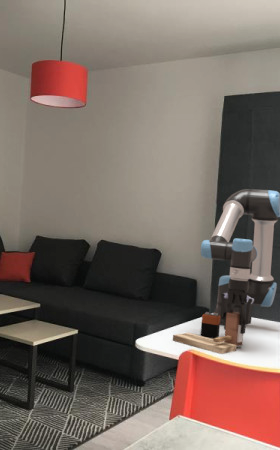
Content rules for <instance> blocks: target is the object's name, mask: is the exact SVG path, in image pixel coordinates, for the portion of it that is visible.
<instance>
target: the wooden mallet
mask: <svg viewBox="0 0 280 450" xmlns="http://www.w3.org/2000/svg"><path fill="white" fill-rule="evenodd" d="M238 325H240V315H239V313H238V312H230V313H227V316H226V327H225V330H224V335H223V336H219V337H218V338H214V339H213V338H212V339H213V342H222V341H223V342H226V343H230V344H234V345H237V347H241V346H243V342H244V338H243V339H242V342H239V343H238V342H237V336H238Z"/></svg>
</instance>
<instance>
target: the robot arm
mask: <svg viewBox="0 0 280 450" xmlns="http://www.w3.org/2000/svg"><path fill="white" fill-rule="evenodd" d="M222 211H223V212H222V214H221V215H220V218H219V220H218V222H217V224H216V226H215V228H214V230H213V233H212V235H211V238H210V239H205V240H202V241H201V245H200V255H201V257H202V258H203V259H208V260H209V259H210V260H218V261H228V262H230V267H229V275H222V276H220V277H219V281H218V288H217V289H218V290H217V300H216V301H217V302H216V307H215V309H214V312H213V313H218V315H220V326H224V327H223V329H224V331H225V327H226V316H227V313H230V312H238V313H239V315H240V325H238V336H237V342H238V343H239V342H242V339H243V340H244V334H245V333H246V326H247V325H250V324H252V315H253V307H254V306H258V307H267V308H270V307H271V306H272V305H273V302H274V300H275V297H276V296H275V295H276V291H277V287H278V286H277V285H278V283H277V282H274V277H273V276H272V275H271V274H272V273H271V271H272V270H271V269H272V256H273V243H274V231H275V229H274V227H275V226H274V225H275V224H276V223H277V222H278V220H279V219H278V218H280V192H278V191H277V190H270V189H269V190H268V189H251V188H245V189H241V190H238V191H236V192H234V193H232V194H231V195H230V196H229V197H228V198H227V199H226V201H225V202H224V204H223V207H222ZM243 215H250V216H251V220H252V222H254V228H253V229H254V230H253V231H254V233H253V240H251V239H248V238H247V239H245V238H238V237H237V238H233V241H232V242H230V240H231V237H232V236H233V233H234V231H235V228H236V226H237V224H238V222H239V219H240V218H242V216H243Z"/></svg>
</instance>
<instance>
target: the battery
mask: <svg viewBox="0 0 280 450" xmlns="http://www.w3.org/2000/svg"><path fill="white" fill-rule="evenodd" d="M201 316H202V317H201V326H200V327H201V328H200V336H203V337H207V338H211V339H214V338H218V337H220V336H219V335H220V329H221V328H220V327H221V325H220V315H218V313H214V312H212V313H210V312H209V311H206V312H205V313H203V314H202V315H201Z"/></svg>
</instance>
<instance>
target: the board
mask: <svg viewBox="0 0 280 450" xmlns="http://www.w3.org/2000/svg"><path fill="white" fill-rule="evenodd" d="M172 341H174V342H178V343H181V344H184V345H187V346H191V347H196V348H199V349H203V350H206V351H210V352H214V353H217V354H221V355H223V354H227V353H232V352H236V351H237V347H238V346H237V345H234V344H230V343H226V342H224V341H222V342H213V338H207V337H203V336H201V335H199V334H194V333H191V332H186V333H177V334H173V336H172Z"/></svg>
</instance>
